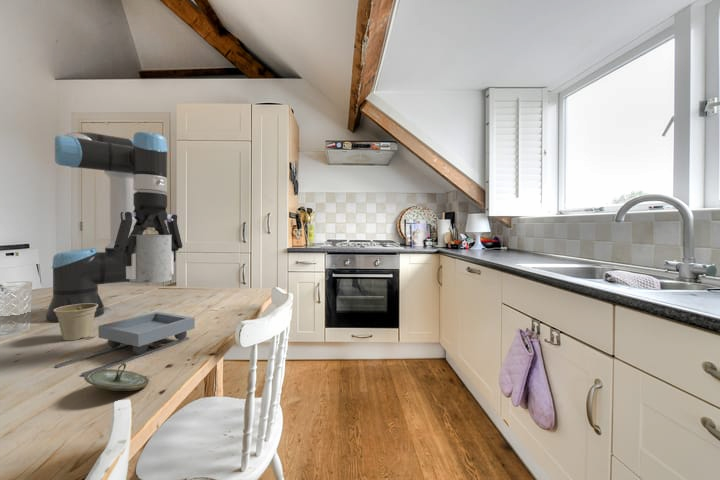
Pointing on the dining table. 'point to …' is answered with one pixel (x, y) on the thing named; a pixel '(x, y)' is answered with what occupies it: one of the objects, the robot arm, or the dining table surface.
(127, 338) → the cart
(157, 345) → the track
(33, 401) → the dining table surface
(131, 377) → the lid
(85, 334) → the flower pot
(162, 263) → the grey canister
